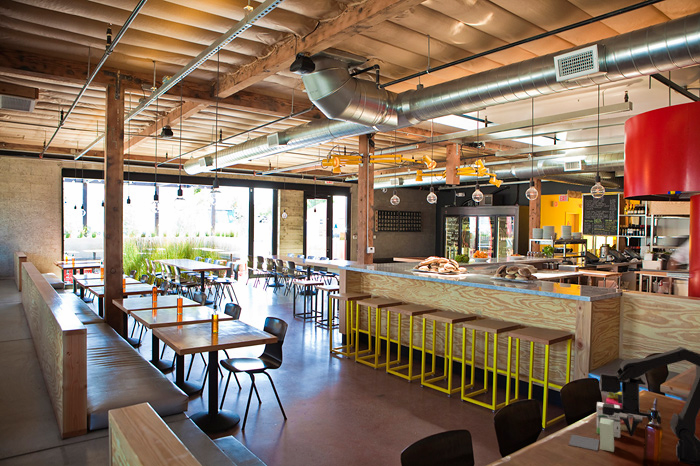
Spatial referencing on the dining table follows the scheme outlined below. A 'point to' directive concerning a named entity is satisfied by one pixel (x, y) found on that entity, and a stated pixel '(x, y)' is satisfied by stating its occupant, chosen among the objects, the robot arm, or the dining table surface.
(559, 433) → the dining table surface
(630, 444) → the dining table surface
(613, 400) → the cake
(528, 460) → the dining table surface
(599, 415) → the ink box
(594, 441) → the bar mat
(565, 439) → the dining table surface
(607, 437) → the block
